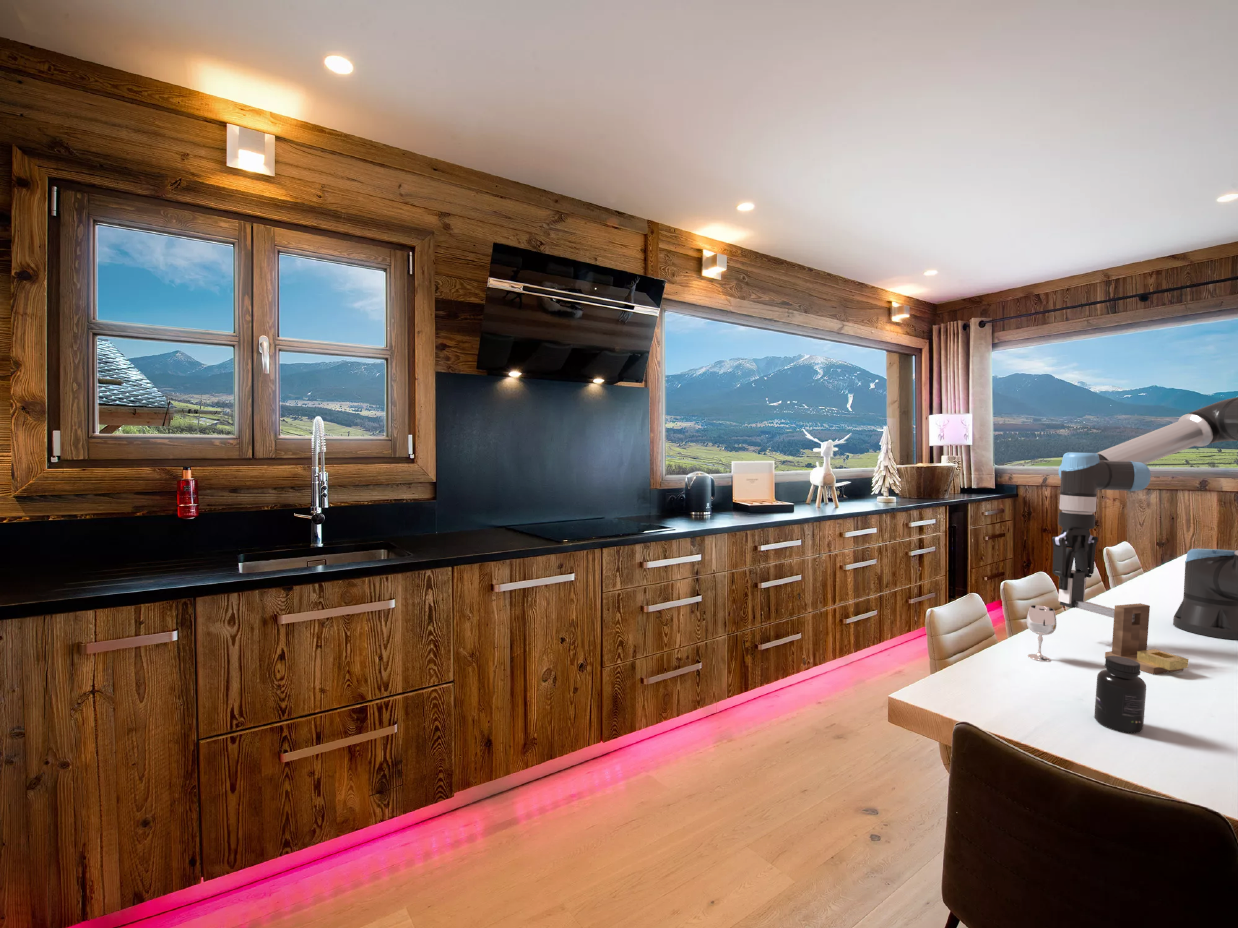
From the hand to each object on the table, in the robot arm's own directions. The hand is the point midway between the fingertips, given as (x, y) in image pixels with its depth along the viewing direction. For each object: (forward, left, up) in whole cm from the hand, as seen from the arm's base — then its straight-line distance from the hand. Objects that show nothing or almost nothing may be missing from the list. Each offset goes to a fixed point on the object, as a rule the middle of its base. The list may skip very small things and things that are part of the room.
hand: (1071, 601), depth 154 cm
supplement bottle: (+40, +37, -10) cm, 55 cm away
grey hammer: (0, +6, -1) cm, 6 cm away
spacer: (0, +17, -8) cm, 19 cm away
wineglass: (+21, +8, -10) cm, 25 cm away
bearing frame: (0, +16, -10) cm, 19 cm away
